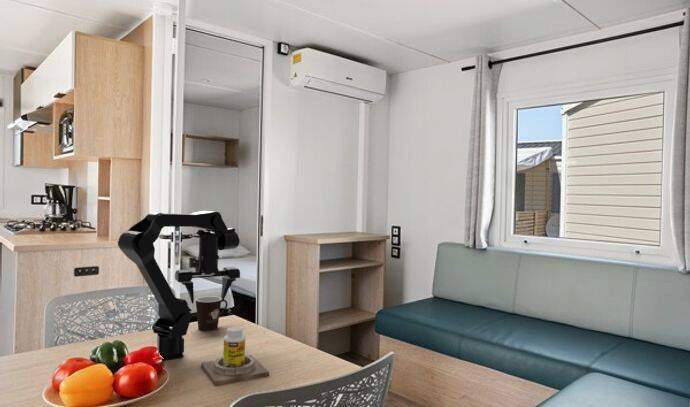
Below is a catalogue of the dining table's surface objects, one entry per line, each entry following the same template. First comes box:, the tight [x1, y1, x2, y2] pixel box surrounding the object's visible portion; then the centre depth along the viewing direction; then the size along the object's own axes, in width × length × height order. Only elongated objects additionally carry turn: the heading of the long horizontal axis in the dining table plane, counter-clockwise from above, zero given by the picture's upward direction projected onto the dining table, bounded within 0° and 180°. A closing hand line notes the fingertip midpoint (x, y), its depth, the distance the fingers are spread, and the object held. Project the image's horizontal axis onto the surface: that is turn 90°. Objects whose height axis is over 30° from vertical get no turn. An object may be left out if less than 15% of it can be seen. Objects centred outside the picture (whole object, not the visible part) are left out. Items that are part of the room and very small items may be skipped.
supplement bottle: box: [222, 326, 246, 368], centre depth 123 cm, size 6×6×10 cm
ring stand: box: [200, 354, 270, 386], centre depth 123 cm, size 14×14×2 cm
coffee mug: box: [195, 296, 228, 332], centre depth 161 cm, size 12×9×10 cm
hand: (207, 301), depth 144 cm, fingers open, 9 cm apart
